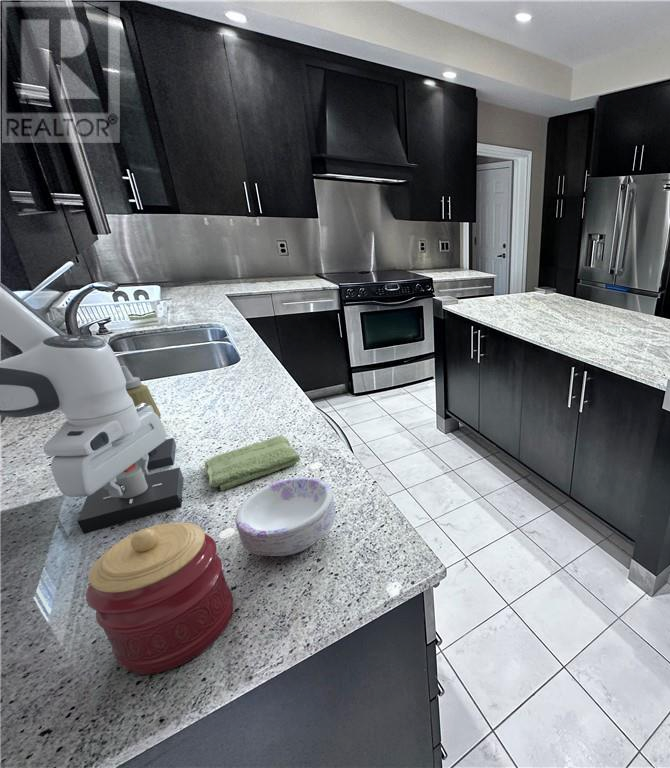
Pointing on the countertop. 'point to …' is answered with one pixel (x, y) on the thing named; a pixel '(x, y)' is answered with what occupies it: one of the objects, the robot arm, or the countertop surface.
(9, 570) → the countertop surface
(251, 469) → the washcloth
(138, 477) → the timer dial
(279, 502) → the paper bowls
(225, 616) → the kitchen canister
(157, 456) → the button block
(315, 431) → the countertop surface
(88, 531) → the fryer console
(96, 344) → the robot arm
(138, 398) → the squeeze bottle
